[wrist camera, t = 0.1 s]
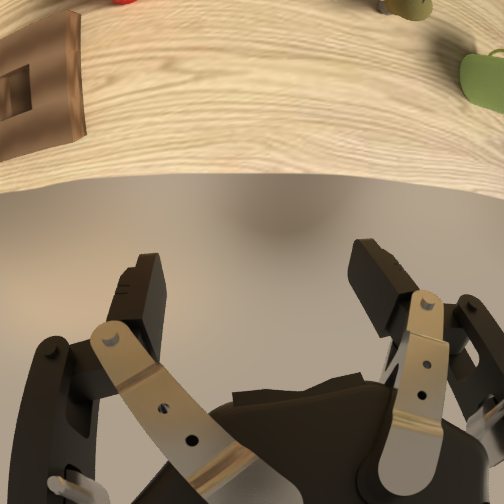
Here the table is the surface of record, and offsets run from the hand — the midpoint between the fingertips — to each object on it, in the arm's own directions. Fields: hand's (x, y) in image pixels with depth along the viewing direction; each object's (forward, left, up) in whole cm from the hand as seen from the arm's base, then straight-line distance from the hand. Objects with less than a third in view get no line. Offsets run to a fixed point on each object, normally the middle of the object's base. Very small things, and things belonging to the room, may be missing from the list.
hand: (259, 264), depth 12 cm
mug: (-16, +44, -29) cm, 55 cm away
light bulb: (-21, +22, -29) cm, 42 cm away
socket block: (-11, -28, -29) cm, 42 cm away
